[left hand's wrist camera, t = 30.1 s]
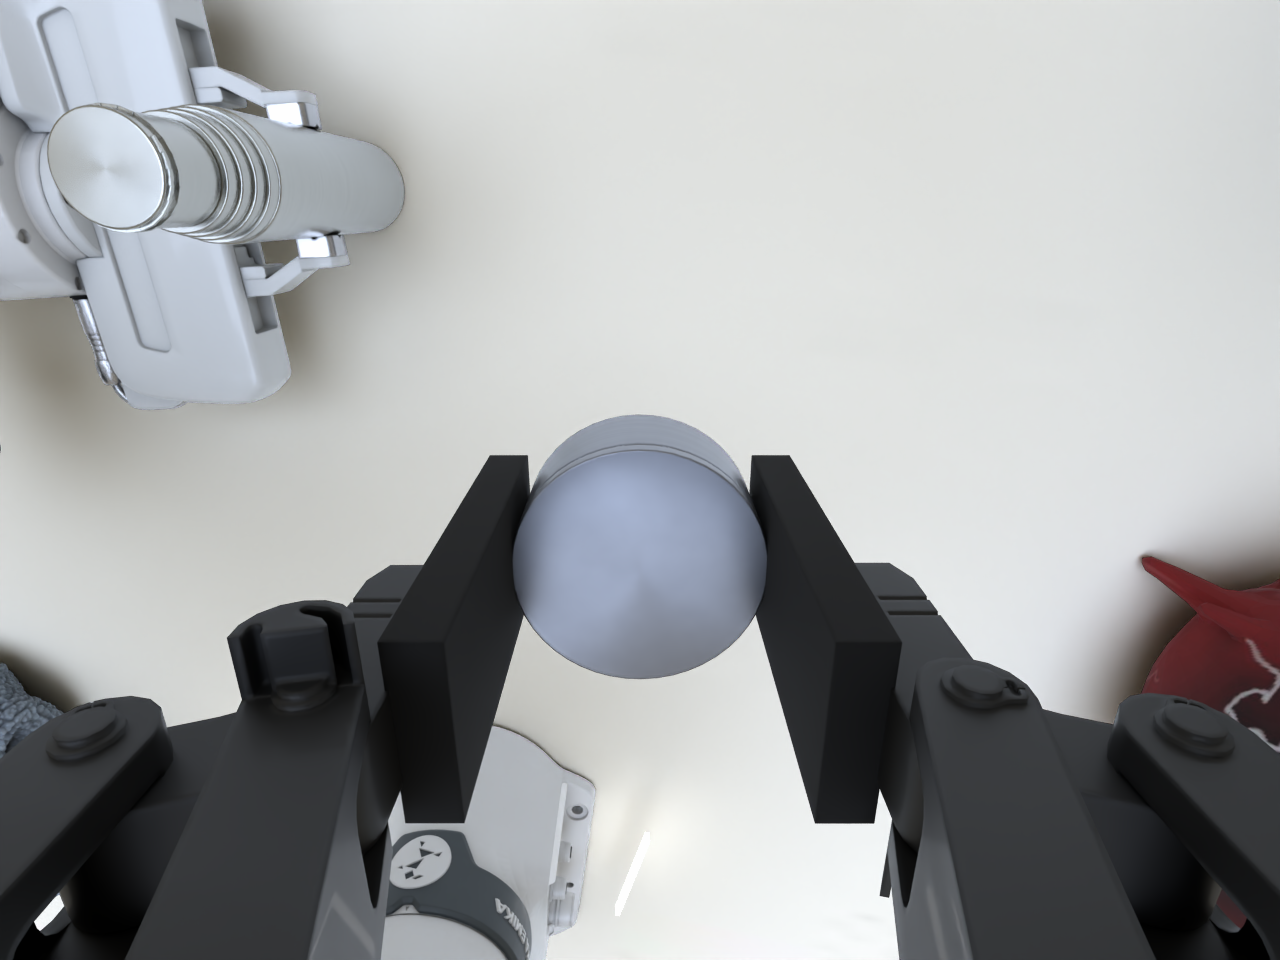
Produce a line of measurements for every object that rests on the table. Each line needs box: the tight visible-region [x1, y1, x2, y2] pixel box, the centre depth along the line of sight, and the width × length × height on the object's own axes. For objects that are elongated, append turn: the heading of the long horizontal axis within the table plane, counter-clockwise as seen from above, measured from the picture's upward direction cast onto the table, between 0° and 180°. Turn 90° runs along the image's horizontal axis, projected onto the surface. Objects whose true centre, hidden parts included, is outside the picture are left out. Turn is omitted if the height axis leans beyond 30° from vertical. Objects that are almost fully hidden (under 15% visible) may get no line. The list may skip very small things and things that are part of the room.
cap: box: [512, 415, 768, 679], centre depth 13 cm, size 4×4×2 cm
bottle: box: [47, 103, 404, 245], centre depth 30 cm, size 5×5×20 cm
